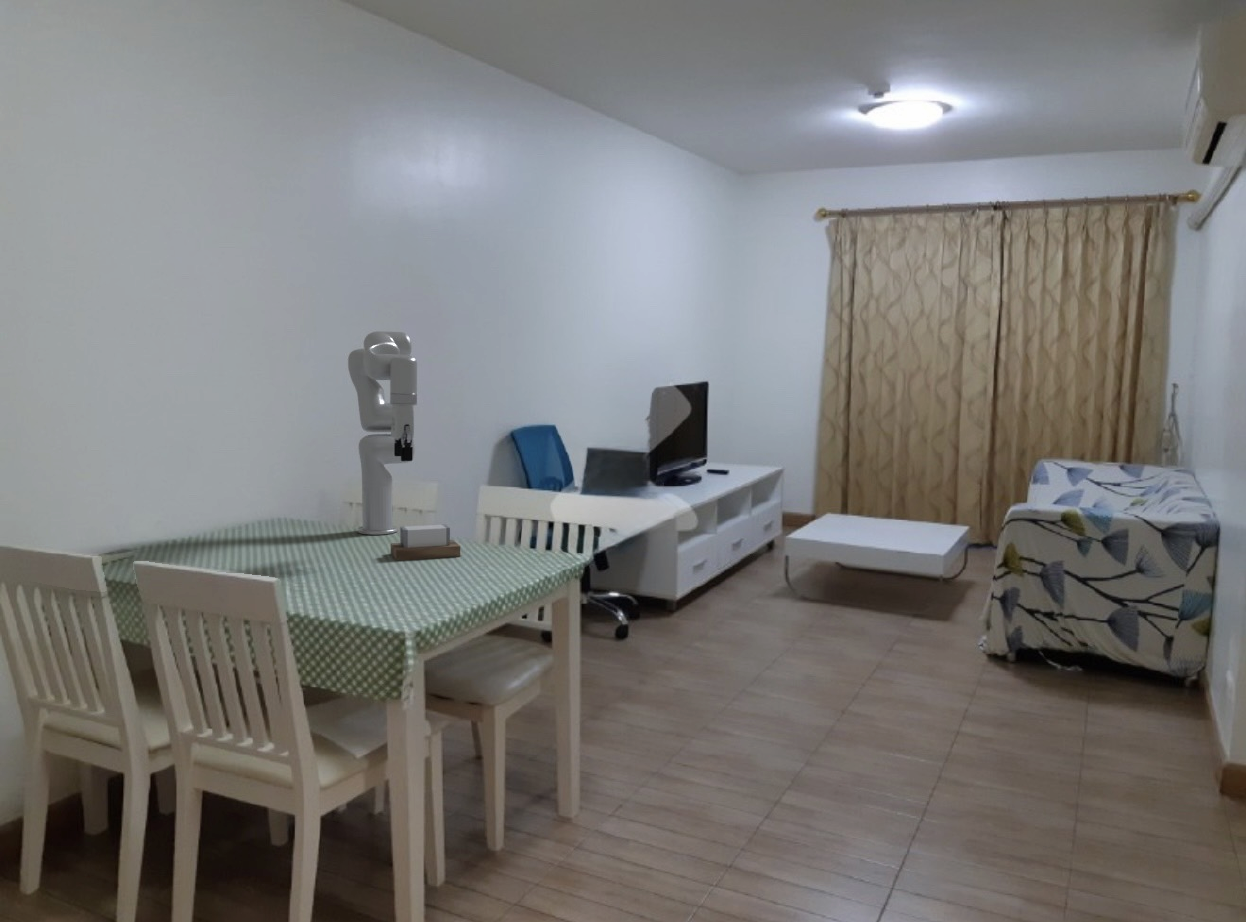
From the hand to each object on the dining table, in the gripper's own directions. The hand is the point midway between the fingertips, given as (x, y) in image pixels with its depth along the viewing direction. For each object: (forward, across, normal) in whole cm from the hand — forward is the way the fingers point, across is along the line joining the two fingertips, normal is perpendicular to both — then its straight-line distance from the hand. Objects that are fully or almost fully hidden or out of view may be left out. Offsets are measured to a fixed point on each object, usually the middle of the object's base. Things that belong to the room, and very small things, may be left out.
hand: (403, 458), depth 279 cm
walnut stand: (+27, +9, +5) cm, 29 cm away
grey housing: (+24, +9, +5) cm, 26 cm away
